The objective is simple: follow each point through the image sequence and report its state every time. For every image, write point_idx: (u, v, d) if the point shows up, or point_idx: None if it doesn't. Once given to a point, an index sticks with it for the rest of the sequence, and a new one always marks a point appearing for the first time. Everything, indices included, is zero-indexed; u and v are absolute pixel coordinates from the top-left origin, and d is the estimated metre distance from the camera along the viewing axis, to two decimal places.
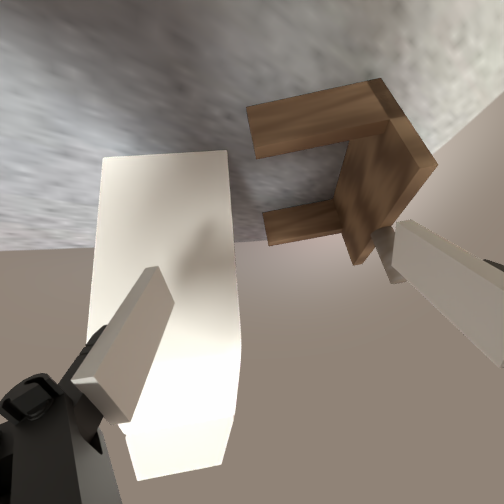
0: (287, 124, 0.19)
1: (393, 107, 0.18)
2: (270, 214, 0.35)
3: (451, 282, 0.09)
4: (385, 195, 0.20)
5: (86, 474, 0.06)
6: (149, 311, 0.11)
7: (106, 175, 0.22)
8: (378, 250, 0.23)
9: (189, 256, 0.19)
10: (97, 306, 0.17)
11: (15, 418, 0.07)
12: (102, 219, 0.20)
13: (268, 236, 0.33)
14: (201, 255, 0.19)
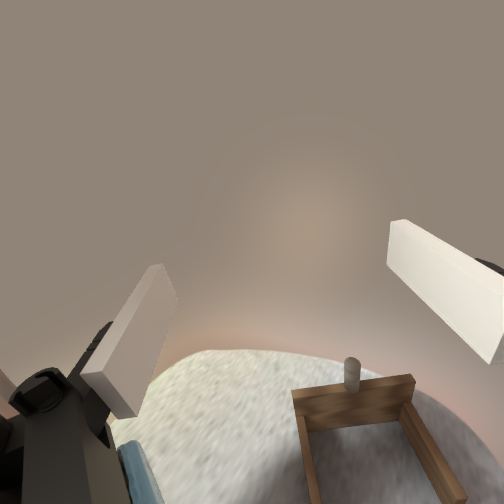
0: None
1: None
2: (442, 500, 0.29)
3: (443, 280, 0.09)
4: (324, 399, 0.34)
5: (95, 467, 0.06)
6: (154, 308, 0.11)
7: None
8: (354, 385, 0.32)
9: None
10: None
11: (26, 411, 0.07)
12: None
13: (453, 499, 0.27)
14: None
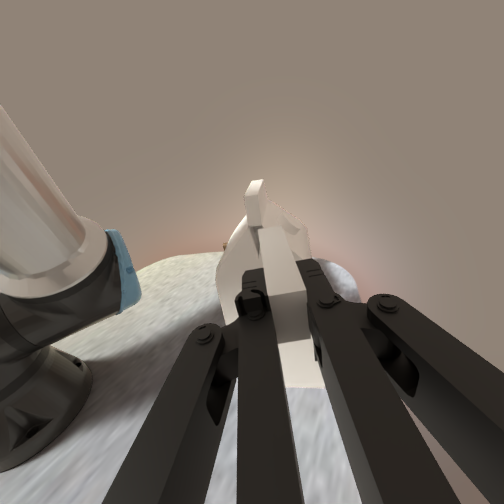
0: None
1: None
2: None
3: None
4: None
5: (283, 386, 0.07)
6: None
7: None
8: None
9: None
10: None
11: (240, 312, 0.09)
12: None
13: None
14: None
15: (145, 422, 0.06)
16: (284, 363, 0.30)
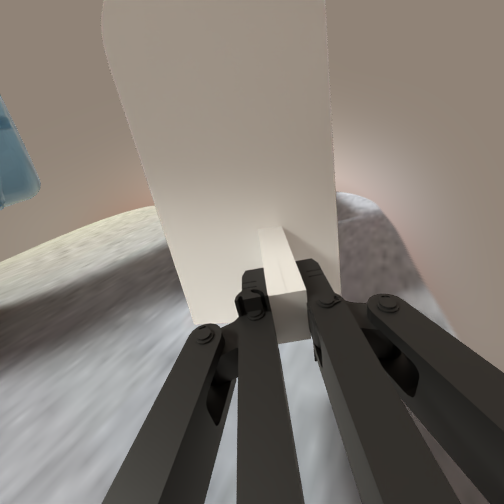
0: None
1: None
2: None
3: None
4: None
5: (283, 386, 0.07)
6: None
7: None
8: None
9: None
10: None
11: (240, 312, 0.09)
12: None
13: None
14: None
15: (145, 422, 0.06)
16: None
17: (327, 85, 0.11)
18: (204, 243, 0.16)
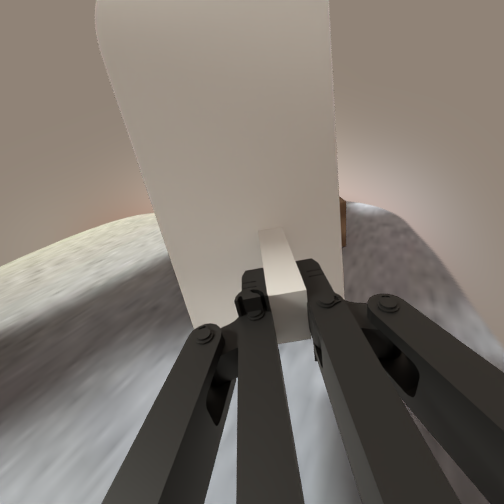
0: None
1: None
2: None
3: None
4: None
5: (283, 386, 0.07)
6: None
7: None
8: None
9: None
10: None
11: (240, 312, 0.09)
12: None
13: None
14: None
15: (145, 422, 0.06)
16: None
17: (331, 84, 0.11)
18: (206, 245, 0.15)
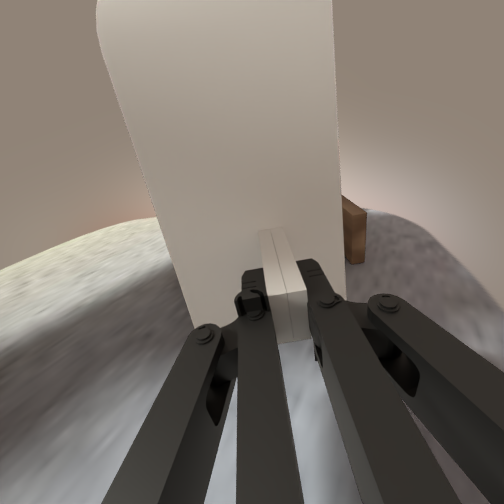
0: None
1: None
2: (347, 253, 0.23)
3: None
4: None
5: (283, 386, 0.07)
6: None
7: None
8: None
9: None
10: None
11: (240, 312, 0.09)
12: None
13: (351, 224, 0.21)
14: None
15: (145, 422, 0.06)
16: None
17: (333, 86, 0.11)
18: (208, 247, 0.15)
